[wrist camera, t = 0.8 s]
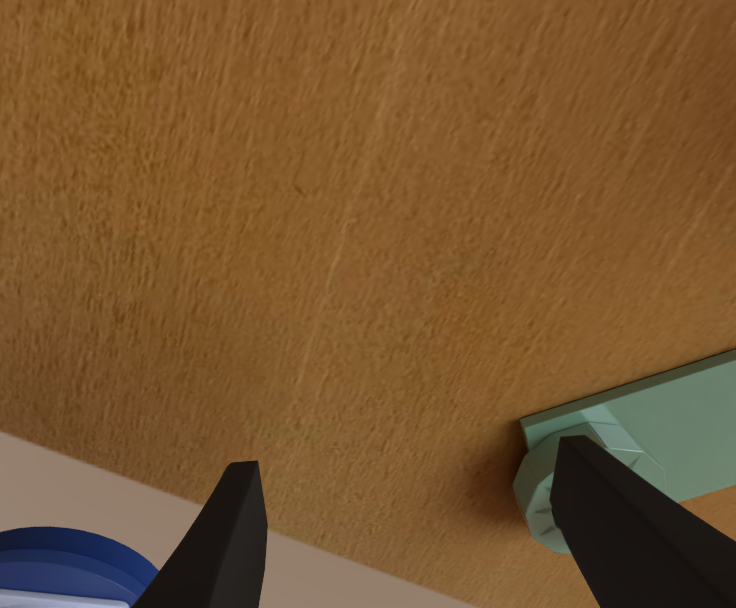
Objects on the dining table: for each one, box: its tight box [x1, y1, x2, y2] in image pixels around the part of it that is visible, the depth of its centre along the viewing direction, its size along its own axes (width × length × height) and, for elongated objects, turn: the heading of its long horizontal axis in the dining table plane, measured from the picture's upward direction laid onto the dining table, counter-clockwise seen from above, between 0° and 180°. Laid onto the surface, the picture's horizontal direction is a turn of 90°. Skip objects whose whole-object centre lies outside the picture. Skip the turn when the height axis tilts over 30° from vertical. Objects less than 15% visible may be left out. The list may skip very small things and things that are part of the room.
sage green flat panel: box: [512, 349, 736, 554], centre depth 24 cm, size 19×8×2 cm, turn 109°
